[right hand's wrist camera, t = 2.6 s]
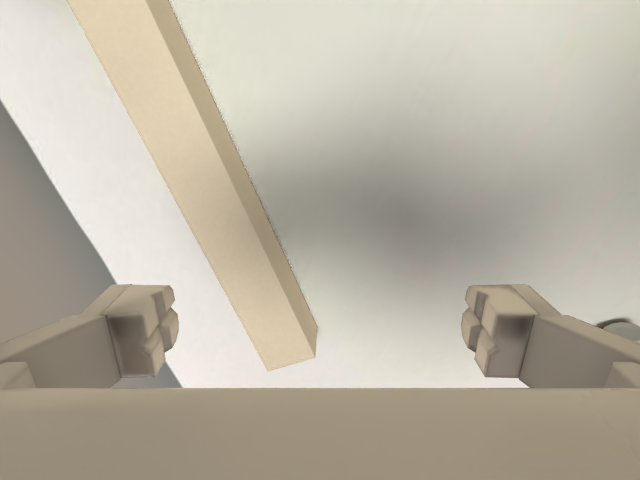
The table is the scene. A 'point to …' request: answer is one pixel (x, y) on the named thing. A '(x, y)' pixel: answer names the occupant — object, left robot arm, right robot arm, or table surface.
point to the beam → (201, 169)
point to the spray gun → (625, 330)
